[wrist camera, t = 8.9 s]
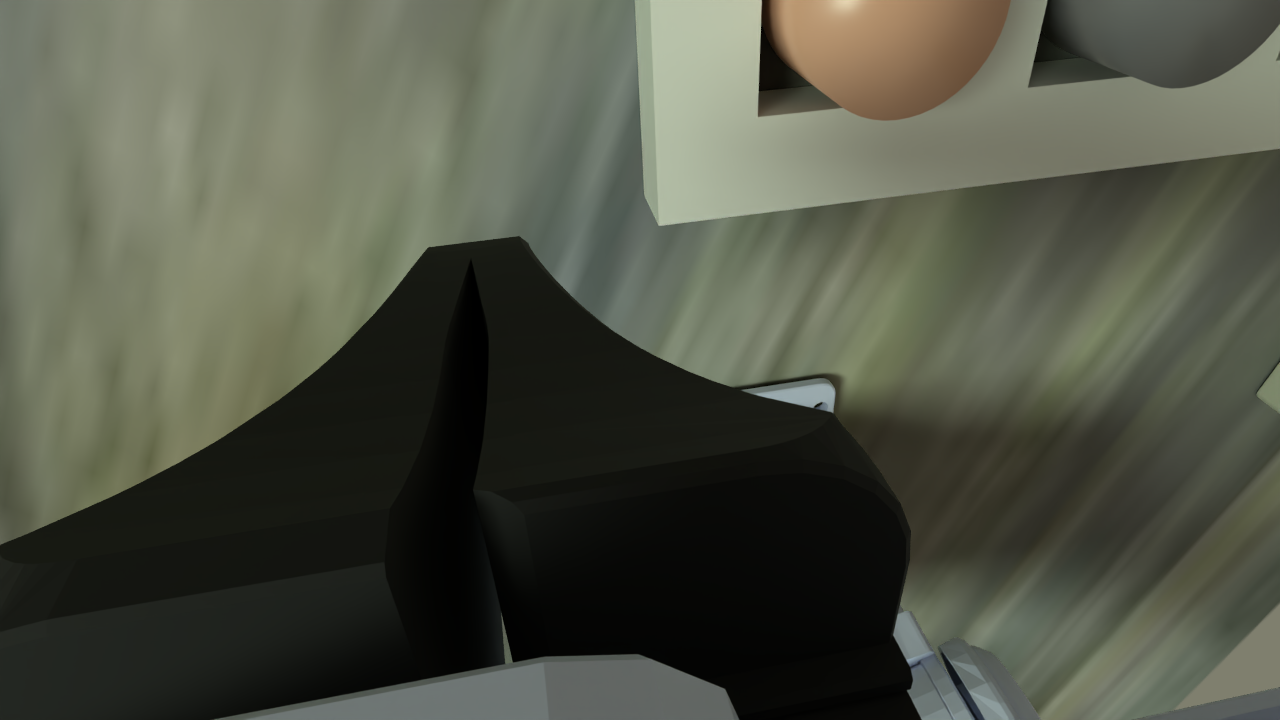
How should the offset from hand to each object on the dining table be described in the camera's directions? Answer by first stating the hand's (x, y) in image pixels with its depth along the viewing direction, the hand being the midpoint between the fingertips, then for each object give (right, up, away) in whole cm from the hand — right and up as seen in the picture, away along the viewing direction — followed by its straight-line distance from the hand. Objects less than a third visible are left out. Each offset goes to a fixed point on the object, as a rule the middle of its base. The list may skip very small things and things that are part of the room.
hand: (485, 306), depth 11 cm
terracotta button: (+7, +8, +8) cm, 13 cm away
